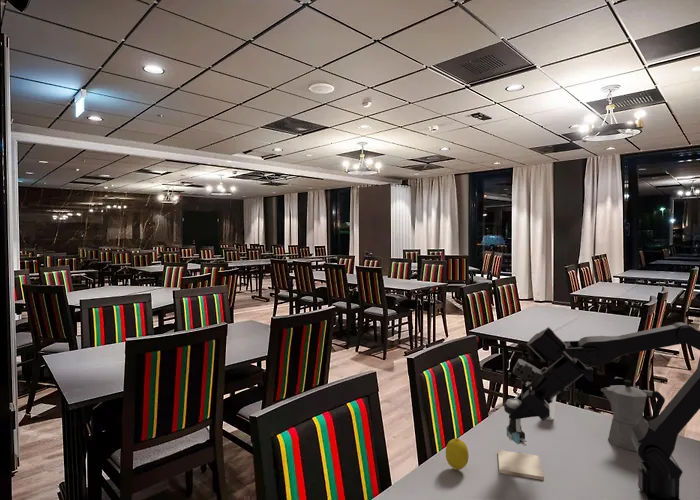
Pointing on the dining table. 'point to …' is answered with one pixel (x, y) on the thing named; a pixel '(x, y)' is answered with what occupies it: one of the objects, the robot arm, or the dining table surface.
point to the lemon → (457, 453)
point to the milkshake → (552, 409)
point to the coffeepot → (628, 411)
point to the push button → (514, 423)
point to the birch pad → (520, 464)
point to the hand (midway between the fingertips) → (510, 413)
